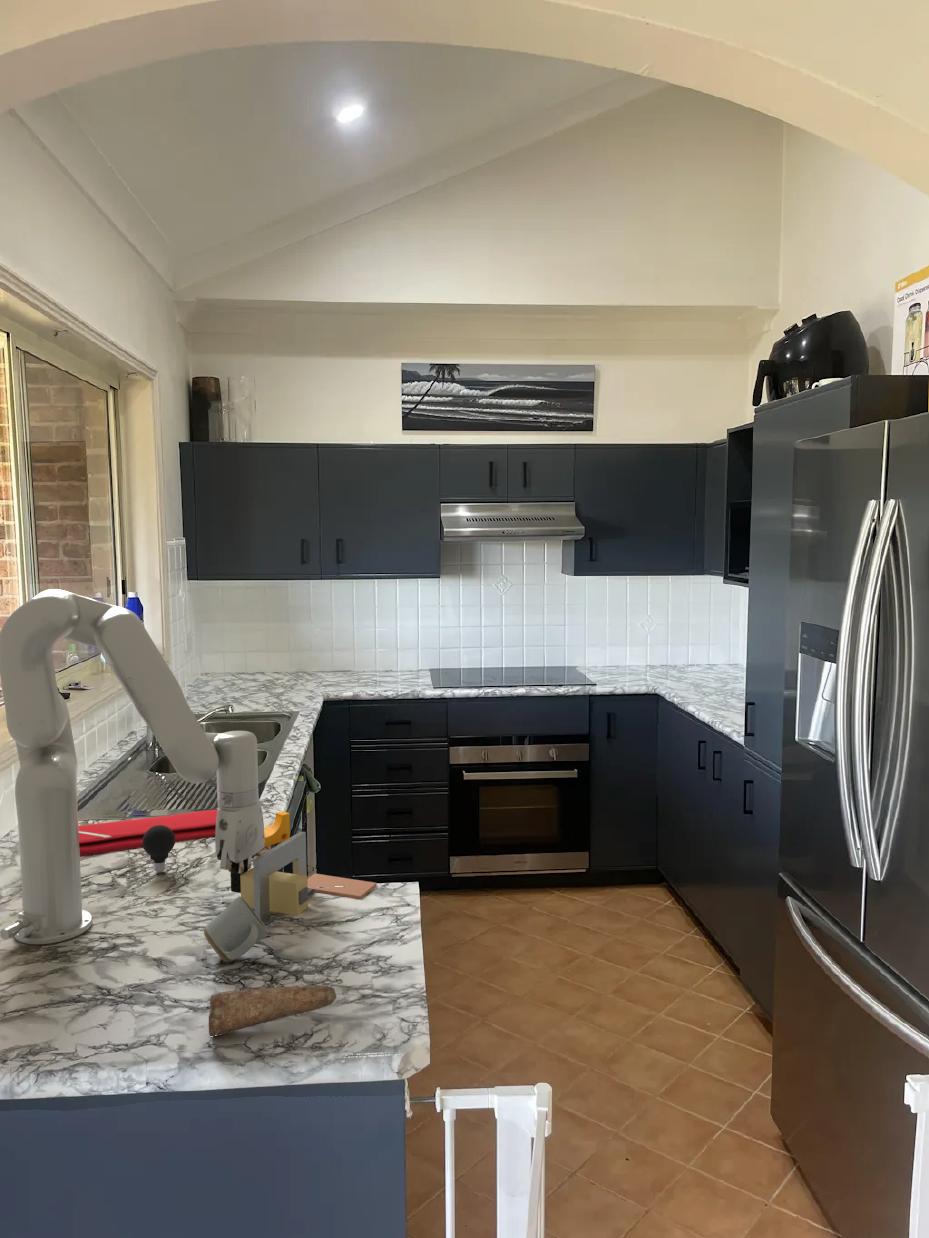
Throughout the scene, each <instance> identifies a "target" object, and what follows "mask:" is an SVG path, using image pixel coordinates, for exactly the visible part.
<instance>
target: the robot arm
mask: <svg viewBox="0 0 929 1238" xmlns="http://www.w3.org/2000/svg"><path fill="white" fill-rule="evenodd" d="M62 639H63V640H68V641H71V642H75V643H78V644H82V645H85V646H91V647H94V648H98V650H99V652H100V653H101V655H102V657H103V659H104V660H105V661H106V663H107V664H108V666H109V667H110V669H111V671H112V672H113V673H114V675H115V677H116V679H117V680H118V681H119V683H120V685H121V686H122V688H123V690H124V691H125V693H126V695H127V696H128V697H129V699H130V701H131V702H132V704H133V706H134V707H135V709H136V711H137V713H138V714H139V716H140V717H141V718H142V719H143V721H144V723H146V725H147V727H148V729H149V730H150V731H151V733H152V734H153V736H154V738H155V739H156V741H157V743H158V744H159V745H160V747H161V749H162V751H163V753H165V755H166V757H167V759H168V761H169V762H170V763H171V765H172V767H173V769H174V770H175V771H176V773H177V774H178V776H179V777H180V778H181V779H182V780H184V781H186V782H187V783H191V784H203V783H205V782H207V781H209V780H211V779H212V778H213V777H214V776H215V774H216V790H217V791H216V795H217V800H216V801H217V809H216V810H217V818H216V832H215V836H214V840H215V841H214V845H215V848H214V849H215V857H216V859H217V861H220V864H219V869H220V870H225V871H228V873H229V874H230V891H231V892H232V893H236V894H237V893H238V894H241V880H240V875H242V874H244V873H245V872H247V871H248V870H250V869H252V863H253V859H254V858H253V857H254V856H255V855H256V854H257V853H258V852H260V851H261V850H262V849H264V848H265V847H264V845H265V834H264V828H265V824H264V815H263V808H262V804H261V801H260V799H259V771H258V769H259V766H258V763H259V762H258V760H259V759H258V739H257V736H256V735H255V733H254V732H251V731H248V730H230V731H225V732H206V731H205V730H204V729H203V728H202V726H201V724H200V723H199V721H198V720H197V718H196V716H195V715H194V713H193V710H192V709H191V707H190V705H189V704H188V702H187V699H186V697H185V694H184V693H183V689H182V687H181V685H180V683H179V682H178V680H177V678H176V676H175V675H174V673H173V671H172V669H171V668H170V666H169V665H168V663H167V661H166V660H165V659H164V657H163V654H161V652H160V650H159V649H158V648H157V645H156V644H155V642H154V640H153V639H152V637H151V636H150V634H149V632H148V631H147V629H146V627H145V626H144V624H143V622H142V621H141V619H140V618H139V616H138V615H137V614H136V613H135V612H134V611H132V610H130V609H128V608H125V607H121V606H117V605H114V604H110V603H106V602H103V601H99V600H97V599H93V598H90V597H87V596H83V595H80V594H77V593H74V592H71V591H70V592H69V591H67V590H63V589H58V588H55V589H54V588H51V589H46V590H43V591H41V592H38V593H37V594H36V595H34V596H33V597H32V598H30V599H28V600H27V601H26V602H24V603H23V604H21V605H20V606H19V607H18V608H16V609H15V610H14V611H13V612H12V613H11V614H10V615H9V617H8V618H6V620H5V622H4V624H3V625H2V627H1V630H0V684H1V692H2V698H3V703H4V709H5V720H6V721H5V722H6V727H7V730H8V733H9V735H10V736H11V738H12V739H13V740H14V741H15V744H16V751H17V757H18V761H19V767H20V768H19V769H18V772H17V775H16V779H15V784H14V785H15V786H14V798H15V799H14V801H15V809H16V817H17V818H16V819H17V826H18V827H17V829H18V830H17V831H18V843H19V845H18V846H19V847H18V848H19V858H20V859H19V860H20V861H19V862H20V878H21V879H20V880H21V900H22V911H20V912H18V913H17V918H18V919H16V920H15V922H14V923H13V924H9V925H8V926H6V927H4V928H1V929H0V938H1V939H3V940H4V941H6V940H9V939H10V938H13V937H14V938H15V940H16V941H18V942H20V943H22V944H28V945H48V944H55V943H60V942H64V941H67V940H70V939H73V938H75V937H79V936H80V935H82V934H84V933H85V932H86V931H89V929H90V928H91V927H92V925H93V916H92V914H91V913H90V912H89V911H87V910H84V909H83V897H82V877H81V876H82V875H81V874H82V873H81V856H80V849H79V828H78V826H79V813H78V769H79V766H78V765H79V764H78V758H77V753H76V746H75V741H74V736H73V735H74V734H73V728H72V724H71V719H70V712H69V708H68V705H67V701H66V700H65V698H64V696H62V694H60V692H59V690H58V684H57V678H56V668H55V665H54V659H53V652H54V651H53V650H54V648H55V645H56V644H57V642H59V641H61V640H62ZM204 731H205V732H204Z"/></svg>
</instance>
